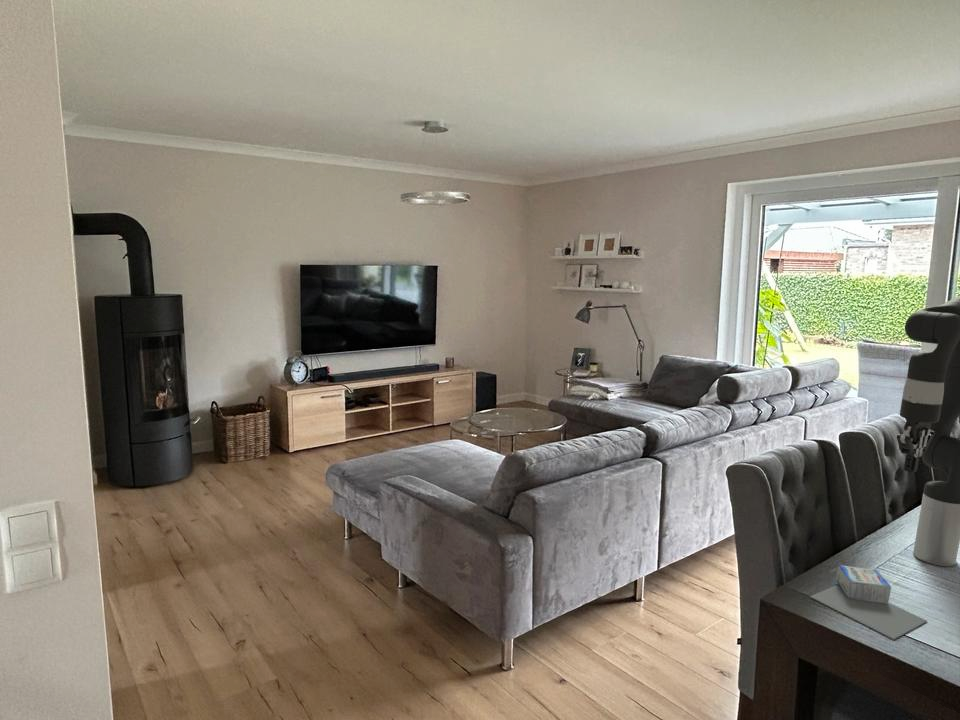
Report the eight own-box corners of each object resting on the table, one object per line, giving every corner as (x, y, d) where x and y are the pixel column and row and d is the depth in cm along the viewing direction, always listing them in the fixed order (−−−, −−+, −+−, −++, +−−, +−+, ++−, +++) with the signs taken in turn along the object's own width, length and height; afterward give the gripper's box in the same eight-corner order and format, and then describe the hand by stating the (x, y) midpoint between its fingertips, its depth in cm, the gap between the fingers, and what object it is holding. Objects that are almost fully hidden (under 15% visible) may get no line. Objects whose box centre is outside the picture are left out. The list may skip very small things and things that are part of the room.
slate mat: (843, 583, 150) (844, 581, 150) (927, 621, 135) (927, 620, 135) (810, 597, 143) (810, 596, 143) (893, 640, 128) (893, 638, 128)
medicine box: (892, 586, 140) (850, 580, 142) (888, 604, 141) (847, 598, 143) (877, 569, 148) (838, 564, 150) (874, 586, 149) (835, 581, 150)
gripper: (918, 393, 149) (906, 462, 152) (889, 397, 142) (878, 470, 145) (954, 400, 142) (941, 472, 145) (926, 405, 136) (913, 480, 139)
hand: (910, 471), depth 145 cm, fingers closed
